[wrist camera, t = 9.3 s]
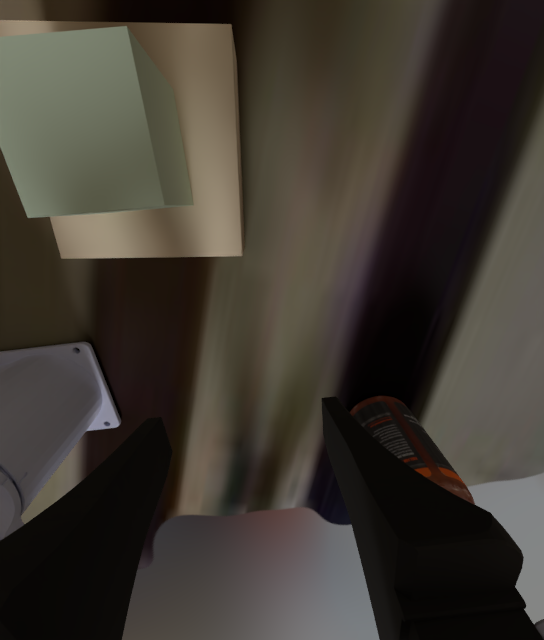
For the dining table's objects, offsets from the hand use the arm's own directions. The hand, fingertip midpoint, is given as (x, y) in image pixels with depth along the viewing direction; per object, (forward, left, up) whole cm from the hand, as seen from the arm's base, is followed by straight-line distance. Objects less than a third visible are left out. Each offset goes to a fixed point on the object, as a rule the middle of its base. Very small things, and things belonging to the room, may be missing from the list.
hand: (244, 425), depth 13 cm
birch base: (-4, +12, -10) cm, 16 cm away
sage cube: (-4, +12, -6) cm, 14 cm away
